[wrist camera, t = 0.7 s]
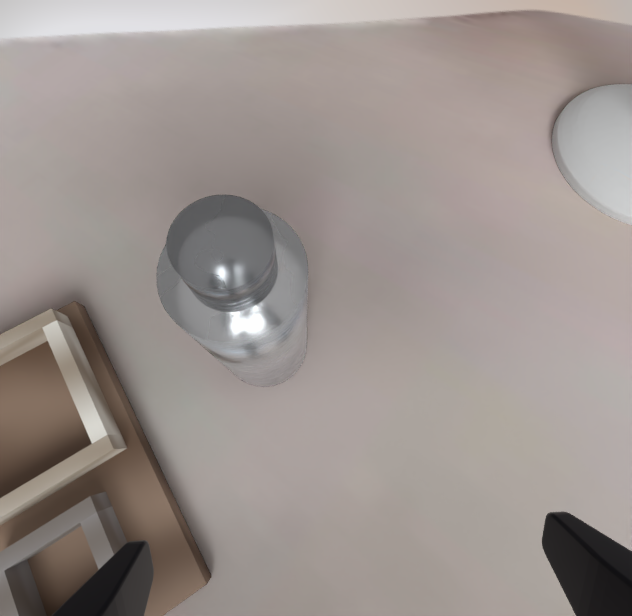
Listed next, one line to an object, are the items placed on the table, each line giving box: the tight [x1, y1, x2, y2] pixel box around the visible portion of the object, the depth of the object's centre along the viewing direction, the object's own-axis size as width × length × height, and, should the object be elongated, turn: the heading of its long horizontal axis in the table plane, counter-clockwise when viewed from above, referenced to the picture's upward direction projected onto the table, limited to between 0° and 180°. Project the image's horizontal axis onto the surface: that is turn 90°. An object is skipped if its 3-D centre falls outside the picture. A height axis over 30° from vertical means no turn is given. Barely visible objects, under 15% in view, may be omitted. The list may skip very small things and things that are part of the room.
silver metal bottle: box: [157, 195, 308, 387], centre depth 17 cm, size 5×5×13 cm
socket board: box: [0, 301, 211, 616], centre depth 19 cm, size 17×10×2 cm, turn 33°
